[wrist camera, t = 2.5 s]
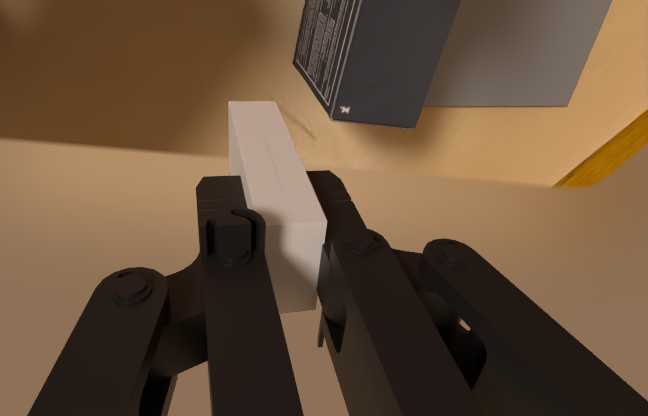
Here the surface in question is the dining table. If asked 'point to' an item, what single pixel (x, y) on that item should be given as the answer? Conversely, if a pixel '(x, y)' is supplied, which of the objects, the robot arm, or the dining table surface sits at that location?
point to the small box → (373, 56)
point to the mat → (516, 52)
